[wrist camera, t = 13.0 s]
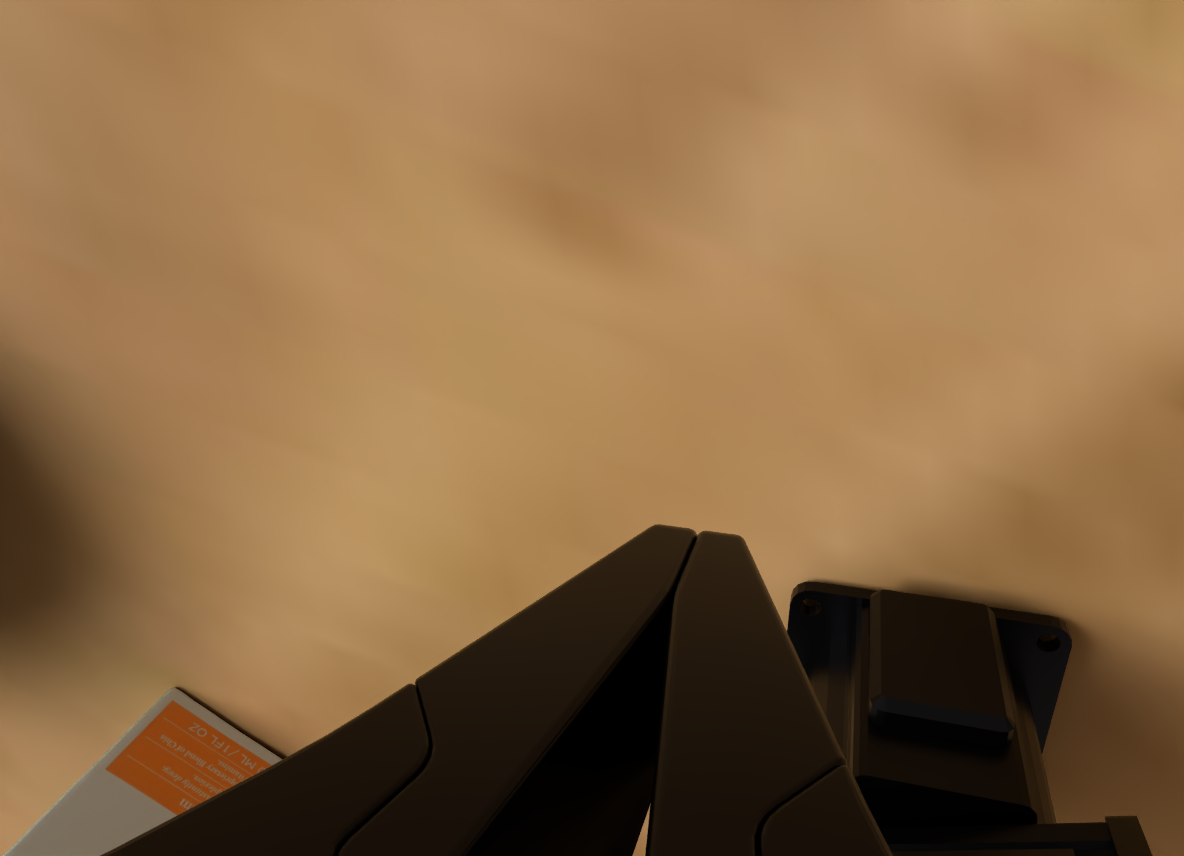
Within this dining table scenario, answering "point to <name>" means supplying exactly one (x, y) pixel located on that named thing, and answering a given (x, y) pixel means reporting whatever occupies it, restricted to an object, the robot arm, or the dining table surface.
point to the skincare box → (146, 780)
